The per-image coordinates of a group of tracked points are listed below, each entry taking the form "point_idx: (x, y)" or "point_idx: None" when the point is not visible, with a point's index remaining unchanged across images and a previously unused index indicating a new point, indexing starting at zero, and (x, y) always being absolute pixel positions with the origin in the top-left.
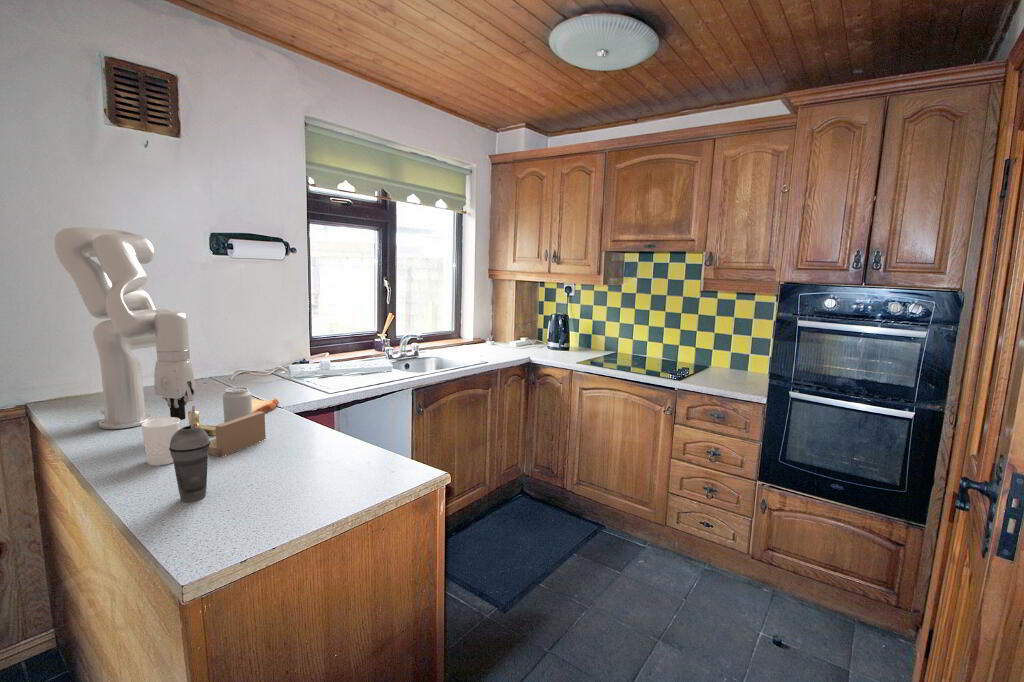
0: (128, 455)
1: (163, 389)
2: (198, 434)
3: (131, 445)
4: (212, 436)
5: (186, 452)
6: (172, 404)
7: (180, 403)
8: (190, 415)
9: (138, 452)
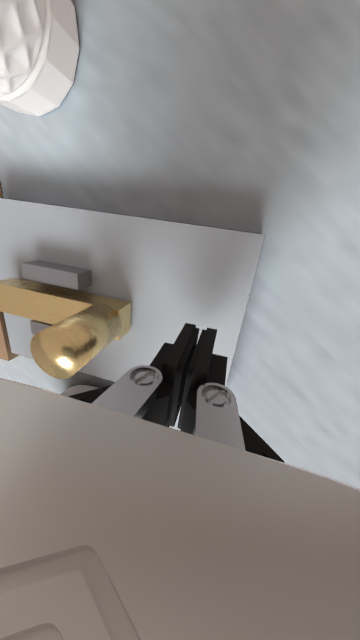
0: (227, 9)
1: (173, 622)
2: None
3: (331, 153)
4: (22, 278)
5: None
6: (194, 403)
7: (99, 393)
8: (57, 323)
9: (213, 77)
